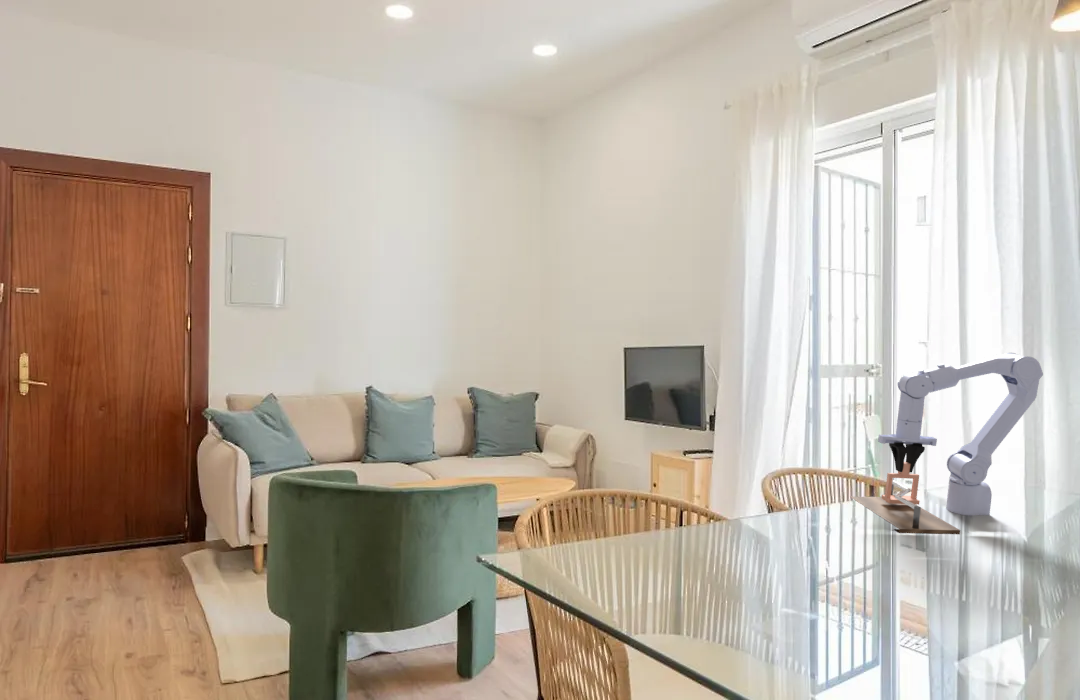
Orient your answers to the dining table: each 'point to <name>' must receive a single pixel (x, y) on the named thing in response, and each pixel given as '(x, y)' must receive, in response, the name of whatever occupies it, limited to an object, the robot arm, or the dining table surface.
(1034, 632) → the dining table surface
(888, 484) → the frame
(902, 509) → the base board
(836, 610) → the dining table surface
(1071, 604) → the dining table surface
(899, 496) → the bent wire
